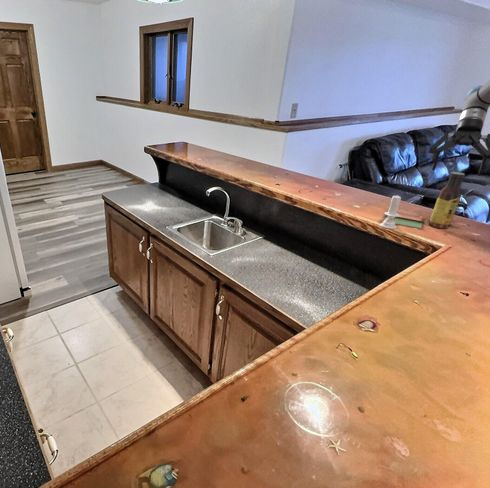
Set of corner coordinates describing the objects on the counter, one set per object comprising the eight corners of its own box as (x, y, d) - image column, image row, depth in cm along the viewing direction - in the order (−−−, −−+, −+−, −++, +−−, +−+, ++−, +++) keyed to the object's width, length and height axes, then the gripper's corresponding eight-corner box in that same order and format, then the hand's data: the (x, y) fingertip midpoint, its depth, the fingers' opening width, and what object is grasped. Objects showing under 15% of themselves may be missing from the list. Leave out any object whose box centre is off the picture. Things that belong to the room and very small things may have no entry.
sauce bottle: (445, 231, 125) (466, 176, 117) (425, 225, 129) (444, 173, 121) (451, 226, 129) (471, 173, 120) (431, 221, 133) (450, 170, 125)
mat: (422, 220, 134) (423, 219, 134) (421, 229, 127) (421, 228, 127) (387, 214, 140) (387, 213, 140) (383, 221, 133) (383, 220, 133)
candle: (383, 222, 133) (391, 191, 127) (398, 226, 129) (408, 195, 124) (377, 225, 130) (386, 194, 124) (393, 230, 126) (403, 198, 121)
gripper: (432, 115, 136) (417, 160, 132) (518, 119, 123) (505, 170, 118) (428, 127, 142) (414, 171, 138) (510, 133, 129) (497, 181, 124)
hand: (456, 170), depth 128 cm, fingers open, 13 cm apart
